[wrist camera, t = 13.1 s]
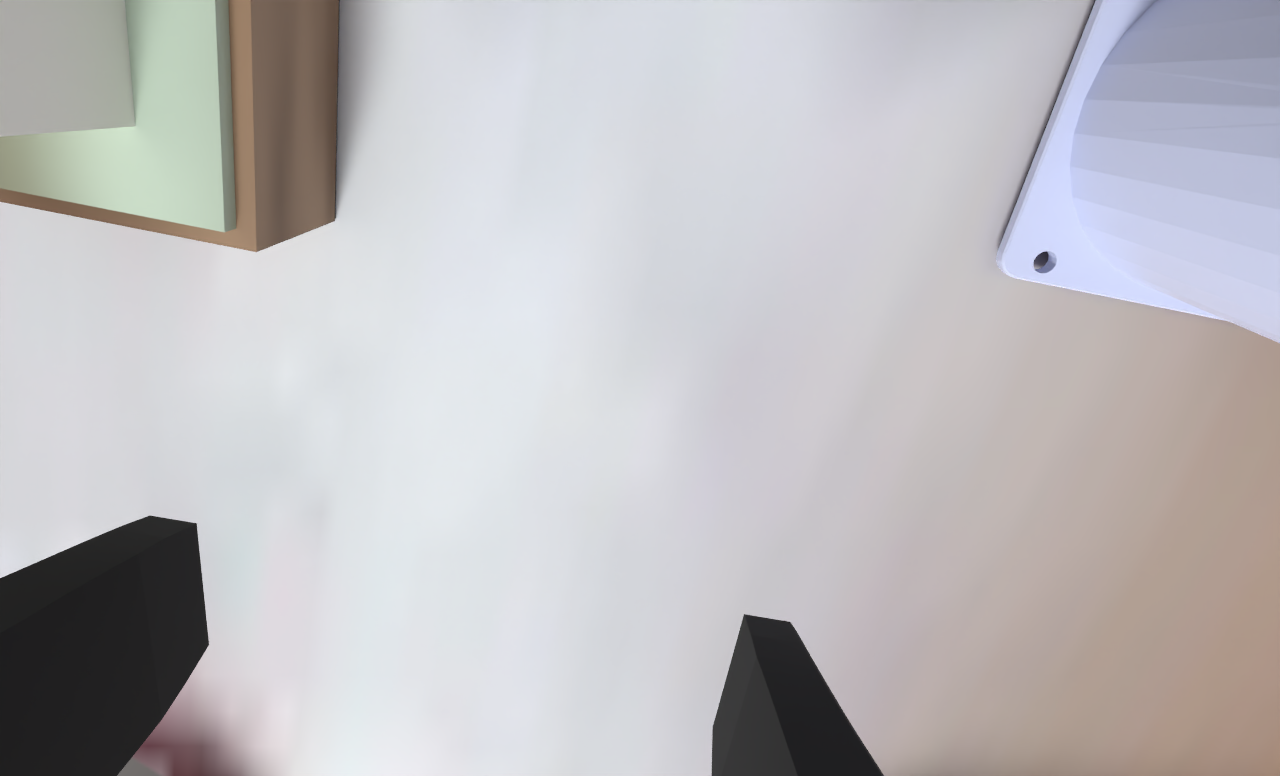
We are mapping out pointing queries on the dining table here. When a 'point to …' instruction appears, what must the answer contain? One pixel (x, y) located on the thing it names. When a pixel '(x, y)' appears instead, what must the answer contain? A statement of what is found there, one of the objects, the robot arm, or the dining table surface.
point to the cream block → (64, 66)
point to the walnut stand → (204, 128)
